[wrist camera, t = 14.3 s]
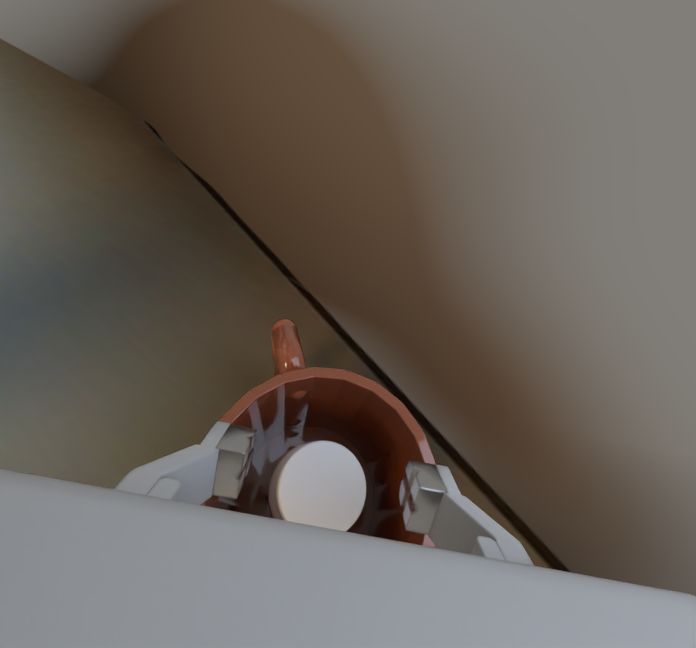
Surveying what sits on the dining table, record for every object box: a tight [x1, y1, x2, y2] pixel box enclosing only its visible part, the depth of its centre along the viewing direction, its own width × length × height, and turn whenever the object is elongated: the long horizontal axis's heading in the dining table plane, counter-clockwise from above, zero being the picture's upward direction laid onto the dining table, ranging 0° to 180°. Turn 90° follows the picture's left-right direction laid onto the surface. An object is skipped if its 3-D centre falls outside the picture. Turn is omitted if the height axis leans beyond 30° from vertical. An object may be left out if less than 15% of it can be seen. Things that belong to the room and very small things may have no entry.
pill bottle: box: [268, 441, 366, 532], centre depth 18 cm, size 5×5×8 cm
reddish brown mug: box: [201, 318, 436, 548], centre depth 20 cm, size 14×10×11 cm
